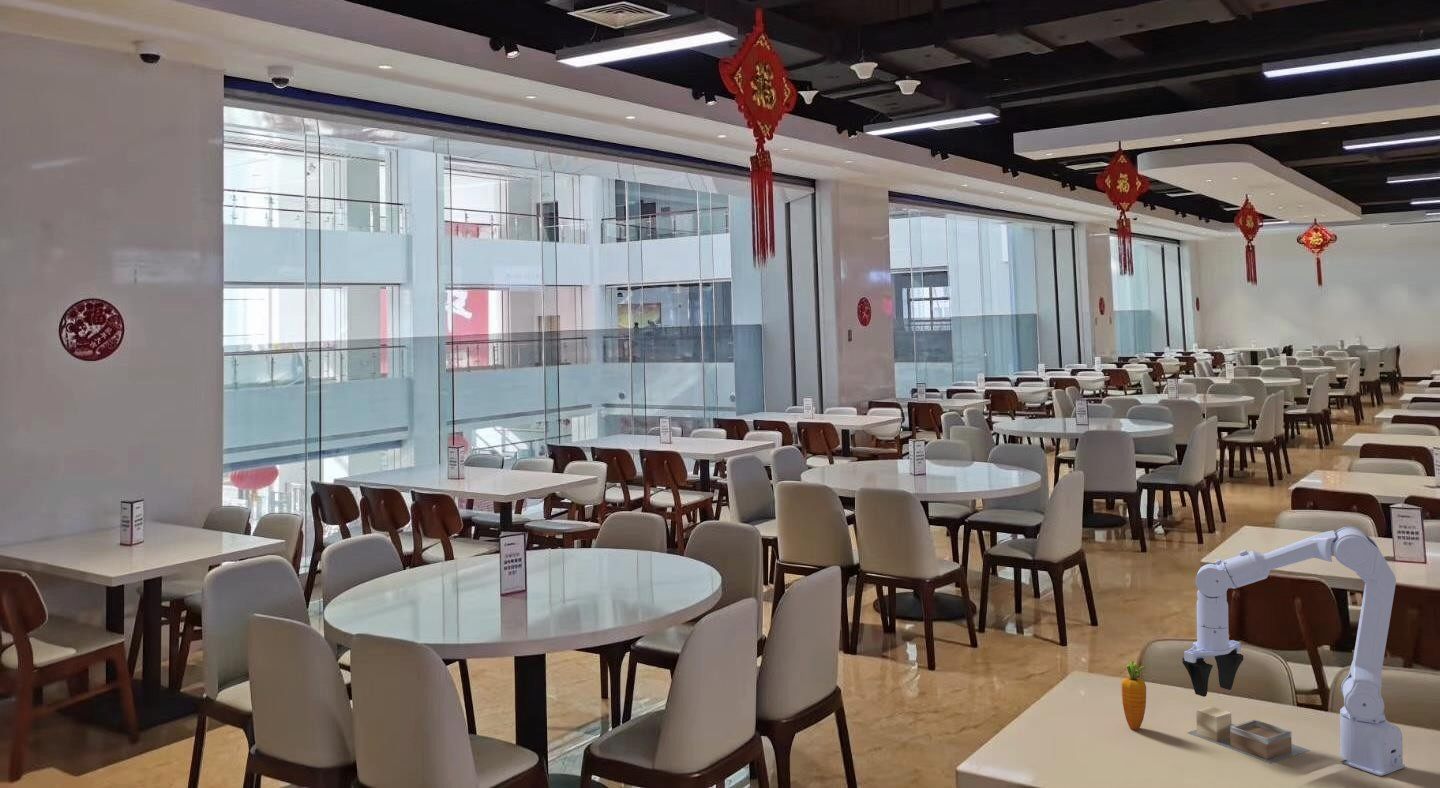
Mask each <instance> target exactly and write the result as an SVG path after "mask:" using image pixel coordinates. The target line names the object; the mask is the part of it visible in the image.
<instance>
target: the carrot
mask: <svg viewBox="0 0 1440 788" xmlns="http://www.w3.org/2000/svg"><path fill="white" fill-rule="evenodd" d="M1138 665H1139V664H1137V663H1136V662H1135V661H1129V664H1128V663H1127V664H1126V668H1127V672H1128V675H1129V677H1126V678H1123V679H1122V680H1121V683H1120V684H1121V685H1120V686H1121V687H1120V688H1121V703H1122V707H1123V713H1124V715H1125V716H1124V717H1125V720H1126V722H1127V725H1128V727H1129V729H1130V730H1132V731H1138V730H1140V728H1141V727H1142V723H1143V721H1144V719H1145V713H1146V707H1147V705H1146V704H1147V685H1146V682H1145V681H1144V680H1143V679H1142V678H1139V675H1140V672H1142V671H1143V670H1144V669H1146V667H1145V666H1144V665H1141V666H1139V667H1138ZM1137 667H1138V669H1137Z"/></svg>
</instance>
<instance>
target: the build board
mask: <svg viewBox="0 0 1440 788" xmlns="http://www.w3.org/2000/svg"><path fill="white" fill-rule="evenodd" d="M1235 725H1236V724H1234V723H1232V722H1231V726H1235ZM1186 733H1187V734H1189V735H1192V736H1194V737H1197V738H1200V739H1203V740H1205V741H1208V742H1211V743H1214V744H1215V745H1218V746H1222V747H1224V748H1227V749H1230V750H1232V751H1234V752H1235V751H1236V752H1238V753H1240V754H1244V755H1246V756H1249V757H1251V758H1255V759H1258V760H1260V761H1263V762H1265V763H1268V764H1273V763H1276V762H1279V761H1283V760H1285V759H1290V758H1292V757H1294V756H1297V755H1298V756H1299V755H1301V754H1303V753H1306V752H1310V751H1311V750H1310V749H1307V748H1304V747H1301V746H1299V745H1295V744H1293V743H1292V752H1290V753H1287V754H1284V755H1281V756H1278V757H1275V758H1272V759H1269V760H1265V759H1262V758H1260V757H1257V756H1254V755H1251V754H1249V753H1246V752H1243V751H1240V750H1238V749H1235V748H1232V747H1231V739H1230V738H1228V739H1225V740H1221V741H1218V742H1216V741H1213V740H1210V739H1207V738H1205V737H1202V736H1199V735H1197V729H1193V730H1191V731H1187V732H1186Z"/></svg>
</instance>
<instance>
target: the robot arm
mask: <svg viewBox="0 0 1440 788" xmlns="http://www.w3.org/2000/svg"><path fill="white" fill-rule="evenodd" d="M1332 557H1334V558H1335V559H1336V560H1337V561H1338V562H1339V564H1341V565H1343V566H1344V567H1345V568H1347V569H1349V570H1351V571H1353V572H1355V573H1356V575H1358V577H1359V578H1360V579H1361V580H1362V581H1363V582H1364V590H1363V593H1362V600H1361V601H1362V602H1361V608H1360V613H1359V614H1360V615H1359V621H1358V626H1357V632H1356V640H1355V646H1354V651H1353V658H1352V661H1351V665H1350V668H1349V673H1348V675H1347V676H1346V677H1345V678H1344V679H1343V681H1341V682H1342V683H1341V686H1340V687H1341V688H1340V689H1341V693H1342V696H1343V706H1342V707H1341V708H1340V709H1339V739H1340V740H1339V742H1340V743H1339V745H1340V753H1339V754H1340V756H1341V757H1342V758H1343V760H1341V761H1340V763H1341V764H1345V765H1347V766H1350V767H1353V768H1356V769H1358V770H1362V771H1365V772H1367V773H1370V774H1373V775H1376V776H1379V777H1380V776H1385V775H1388V774H1391V773H1393V772H1396V771H1399V770H1401V769H1404V768H1405V767H1406V765H1405V764H1404V763H1403V761H1404V759H1403V754H1404V753H1403V752H1404V751H1403V747H1404V746H1403V733H1402V730H1401V728H1400V726H1398V725H1396V724H1393V723H1391V722H1390V721H1388V720H1387V719H1386V715H1385V712H1384V711H1385V701H1384V700H1383V696H1382V693H1381V692H1382V685H1383V684H1382V678H1383V677H1382V676H1383V675H1382V672H1383V671H1382V670H1383V665H1384V659H1385V652H1386V648H1387V647H1386V646H1387V639H1388V635H1389V628H1390V621H1391V616H1392V610H1393V609H1392V608H1393V603H1394V596H1395V592H1396V591H1395V590H1396V584H1397V579H1396V575H1395V574H1394V571H1393V569H1392V568H1391V567H1390V565H1389V563H1388V561H1387V560H1386V558H1385V557H1384V555H1383V554H1382V551H1381V550H1380V549H1379V546H1378V545H1377V543H1376V541H1375V540H1374V539H1372V538H1371V537H1370V536H1369V535H1368V534H1366V532H1364V531H1363V530H1361V529H1359V528H1357V527H1354V526H1344V527H1341V528H1339V529H1337V530H1336V531H1335V530H1328V531H1324V532H1321V533H1318V534H1314V535H1312V536H1309V537H1307V538H1303V539H1301V540H1298V541H1296V542H1295V541H1294V542H1293V543H1290V544H1287V545H1284V546H1282V547H1280V548H1277V549H1273V550H1271V551H1269V552H1266V553H1261V552H1258V551H1256V550H1250V551H1247V549H1243V550H1241V551H1239V554H1238V555H1235V556H1233V557H1230V558H1227V559H1224V560H1221V559H1220V558H1219V559H1216V560H1215V561H1214V562H1215V564H1213V563H1206V564H1204V565H1203V566H1201V567H1200V568H1199V569H1198V571H1197V574H1196V576H1195V587H1196V588H1197V591H1196V597H1197V600H1196V641H1194V642H1192V647H1190V649H1187V650H1184V653H1183V654H1184V656H1183V657H1182V661H1181V662H1182V664H1183V665H1184V666H1183V667H1185V669H1186V671H1187V672H1188V676H1189V677H1190V680H1191V683H1192V687H1193V689H1194V694H1195V695H1196V696H1200V697H1203V698H1205V697H1207V694H1208V690H1209V679H1210V674H1211V671H1212V669H1213V666H1214V665H1213V664H1210V663H1207V662H1206V661H1205V659H1209V658H1214V660H1215V663H1216V667H1217V672H1218V684H1219V687H1220V688H1222V689H1225V690H1229V691H1231V690H1232V688H1233V686H1234V682H1235V677H1236V674H1237V672H1238V669H1239V667H1240V665H1241V664H1242V662H1243V661H1244V655H1243V654H1241V653H1240V652H1241V651H1242V649H1241V646H1242V645H1241V643H1242V642H1241V641H1238V640H1234V639H1232V640H1230V639H1229V632H1230V631H1229V627H1230V626H1229V603H1228V601H1227V600H1228V599H1227V598H1228V597H1227V593H1228V592H1227V591H1228V590H1229V589H1238V588H1241V587H1244V586H1247V585H1250V584H1253V583H1256V582H1259V581H1262V580H1265V579H1267V578H1268V576H1269V574H1270V572H1271V570H1275V569H1278V568H1283V567H1286V566H1289V565H1292V564H1296V563H1300V562H1303V561H1306V560H1311V559H1316V560H1317V559H1318V560H1322V561H1325V562H1330V563H1332V562H1333V558H1332Z"/></svg>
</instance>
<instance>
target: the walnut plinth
mask: <svg viewBox="0 0 1440 788" xmlns="http://www.w3.org/2000/svg"><path fill="white" fill-rule="evenodd" d="M1230 739H1231V747H1232V748H1235V749H1238V750H1240V751H1243V752H1246V753H1249V754H1251V755H1254V756H1257V757H1260V758H1262V759H1265V760H1269V759H1272V758H1275V757H1278V756H1281V755H1284V754H1287V753H1290V752H1292V744H1293V743H1292V731H1291V730H1289V729H1285V728H1282V727H1279V726H1275V725H1273V724H1271V723H1270V724H1269V723H1266V722H1263V721H1261V720H1257V719H1252V720H1249V721H1246V722H1245V721H1244V722H1242V723H1239V724H1235V726H1231V727H1230Z"/></svg>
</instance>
